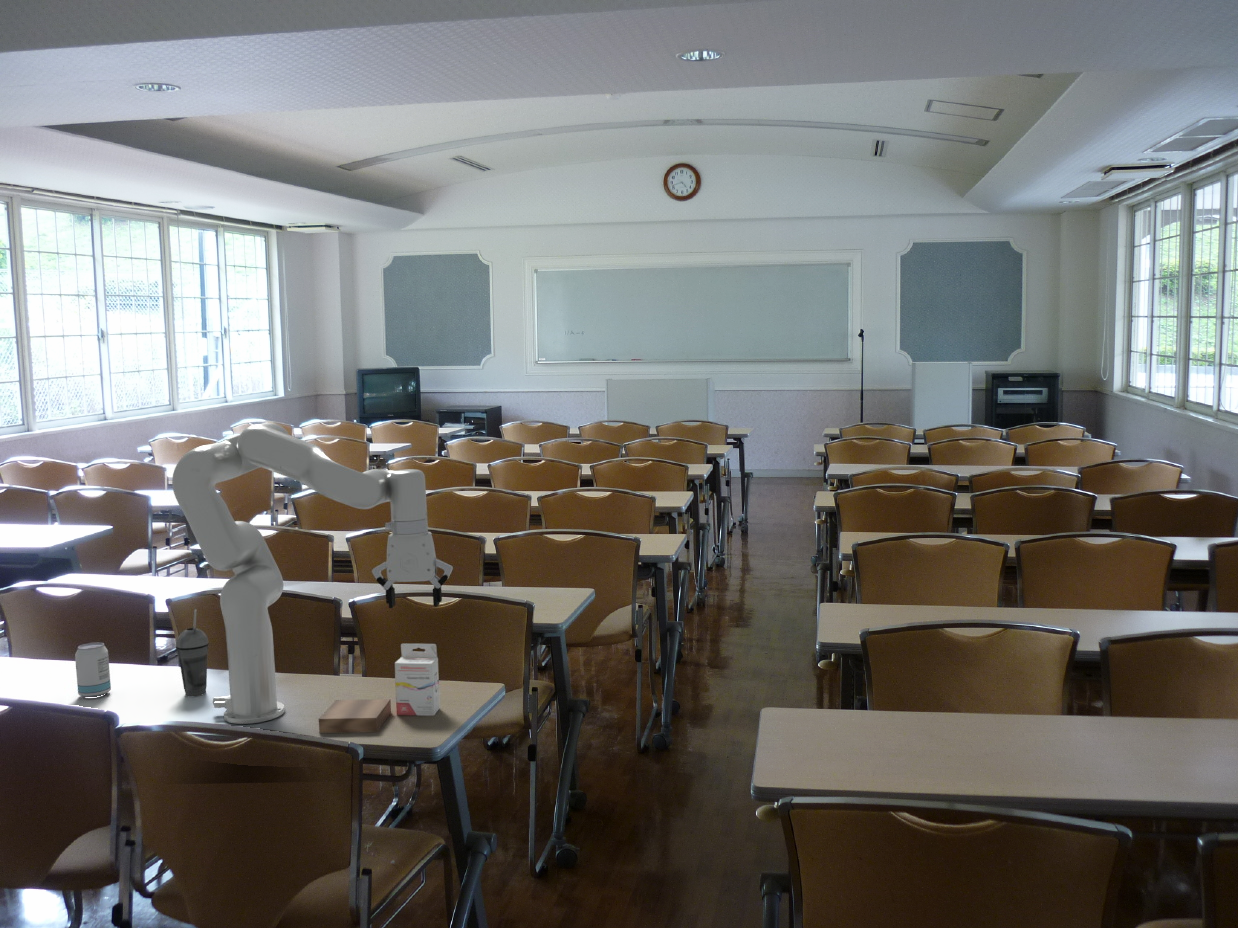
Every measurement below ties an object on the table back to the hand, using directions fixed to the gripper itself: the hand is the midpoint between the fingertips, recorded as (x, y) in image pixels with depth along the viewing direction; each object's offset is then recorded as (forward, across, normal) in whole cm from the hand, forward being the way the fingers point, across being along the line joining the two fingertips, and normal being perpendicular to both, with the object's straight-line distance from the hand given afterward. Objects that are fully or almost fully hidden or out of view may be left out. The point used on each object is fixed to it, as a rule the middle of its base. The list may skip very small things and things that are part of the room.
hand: (414, 606), depth 227 cm
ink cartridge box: (+24, 0, 0) cm, 24 cm away
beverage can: (+23, -80, +16) cm, 85 cm away
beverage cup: (+23, -56, +16) cm, 63 cm away
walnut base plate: (+23, -12, -6) cm, 27 cm away
